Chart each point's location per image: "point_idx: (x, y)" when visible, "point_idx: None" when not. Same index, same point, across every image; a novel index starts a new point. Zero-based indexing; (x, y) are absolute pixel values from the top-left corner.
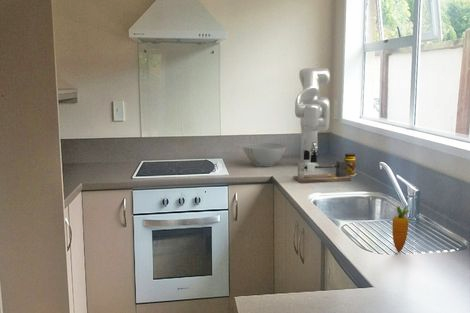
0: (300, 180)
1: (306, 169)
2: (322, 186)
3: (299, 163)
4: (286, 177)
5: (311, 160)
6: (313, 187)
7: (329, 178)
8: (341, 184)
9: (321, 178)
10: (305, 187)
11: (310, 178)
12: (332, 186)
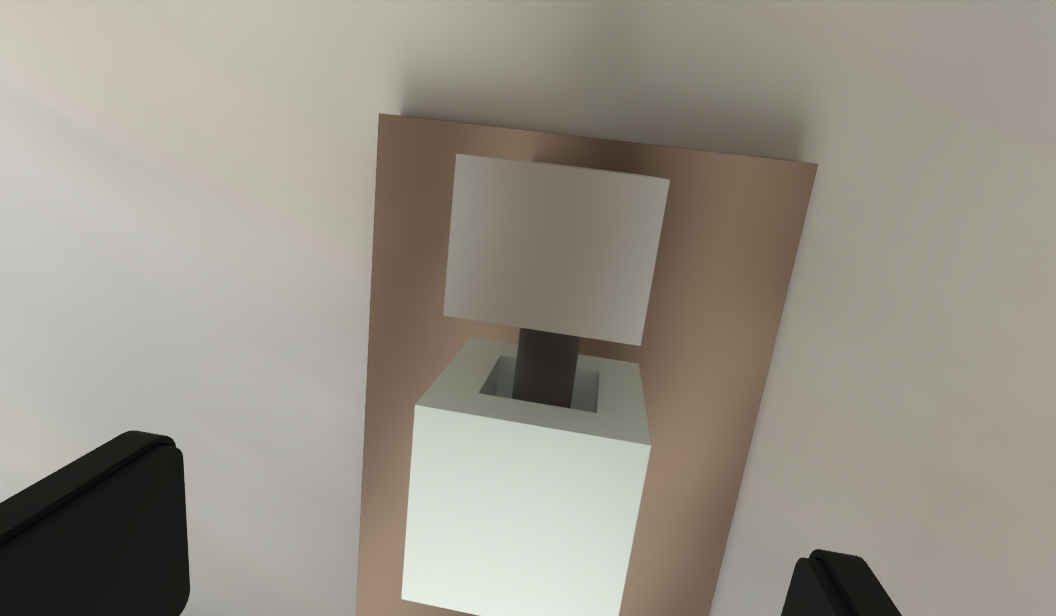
0: (412, 117)
1: None
2: (147, 321)
3: (498, 159)
4: (968, 83)
5: (82, 482)
6: (109, 170)
7: (395, 600)
8: (211, 591)
9: None
10: (124, 50)
11: None
12: None
